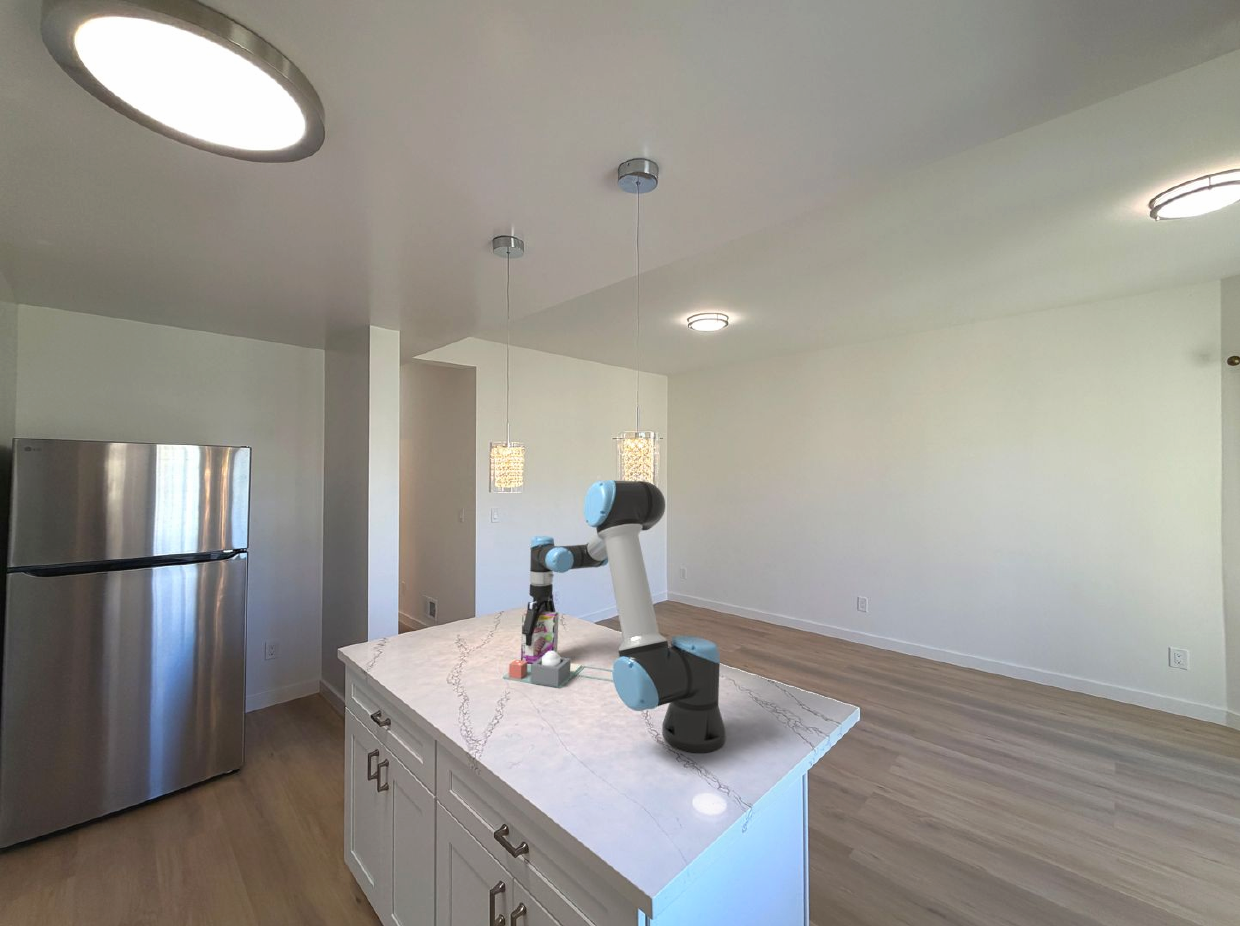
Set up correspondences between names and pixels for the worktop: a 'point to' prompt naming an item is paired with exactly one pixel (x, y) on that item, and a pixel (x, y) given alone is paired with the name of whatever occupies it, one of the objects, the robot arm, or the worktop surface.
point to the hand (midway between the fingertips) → (539, 648)
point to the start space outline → (590, 676)
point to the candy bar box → (542, 636)
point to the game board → (542, 672)
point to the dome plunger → (551, 659)
